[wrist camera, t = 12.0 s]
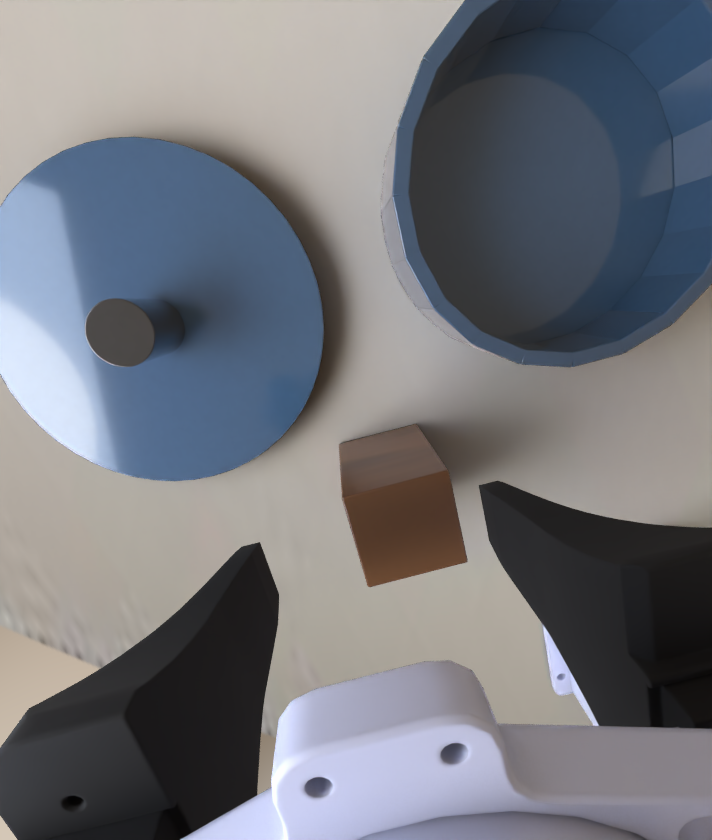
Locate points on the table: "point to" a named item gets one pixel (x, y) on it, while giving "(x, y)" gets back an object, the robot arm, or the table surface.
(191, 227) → the lid
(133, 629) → the table surface
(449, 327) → the pot
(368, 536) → the block
